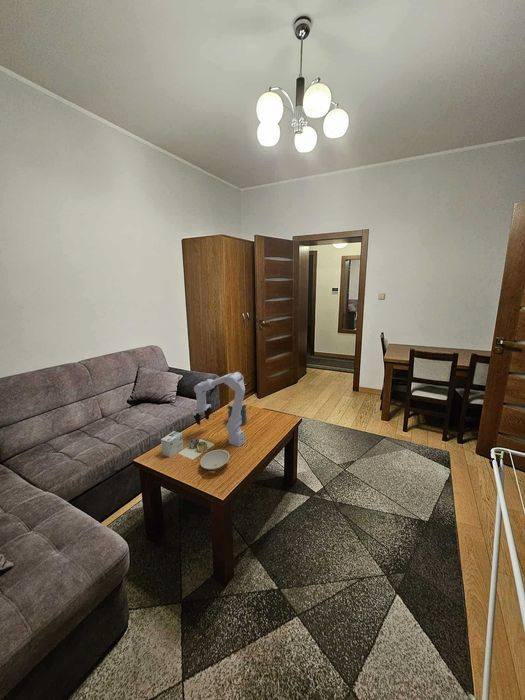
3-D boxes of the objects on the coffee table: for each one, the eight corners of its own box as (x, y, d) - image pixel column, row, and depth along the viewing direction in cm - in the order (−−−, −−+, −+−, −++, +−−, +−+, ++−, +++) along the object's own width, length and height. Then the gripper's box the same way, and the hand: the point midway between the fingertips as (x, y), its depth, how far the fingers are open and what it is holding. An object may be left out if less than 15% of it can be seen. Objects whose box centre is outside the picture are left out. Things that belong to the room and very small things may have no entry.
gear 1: (200, 444, 174) (200, 438, 174) (197, 449, 169) (196, 443, 168) (191, 443, 175) (191, 438, 175) (187, 448, 170) (187, 443, 169)
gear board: (215, 446, 174) (215, 438, 173) (193, 461, 159) (193, 453, 158) (200, 440, 181) (200, 433, 179) (177, 454, 166) (177, 446, 165)
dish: (213, 454, 165) (212, 447, 164) (235, 460, 159) (235, 452, 158) (194, 473, 149) (193, 464, 148) (218, 480, 144) (217, 471, 143)
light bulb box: (175, 446, 174) (173, 430, 172) (184, 449, 171) (182, 432, 169) (161, 456, 165) (160, 438, 163) (170, 459, 162) (168, 441, 159)
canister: (243, 427, 195) (242, 403, 191) (225, 425, 199) (224, 401, 195) (249, 419, 207) (248, 396, 203) (232, 417, 211) (231, 394, 207)
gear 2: (209, 448, 169) (208, 443, 169) (202, 453, 165) (201, 447, 164) (202, 445, 172) (201, 440, 172) (195, 450, 168) (194, 444, 167)
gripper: (205, 396, 188) (206, 415, 191) (188, 404, 177) (189, 424, 180) (213, 398, 185) (214, 418, 188) (196, 407, 173) (198, 427, 176)
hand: (202, 421), depth 183 cm, fingers open, 7 cm apart
